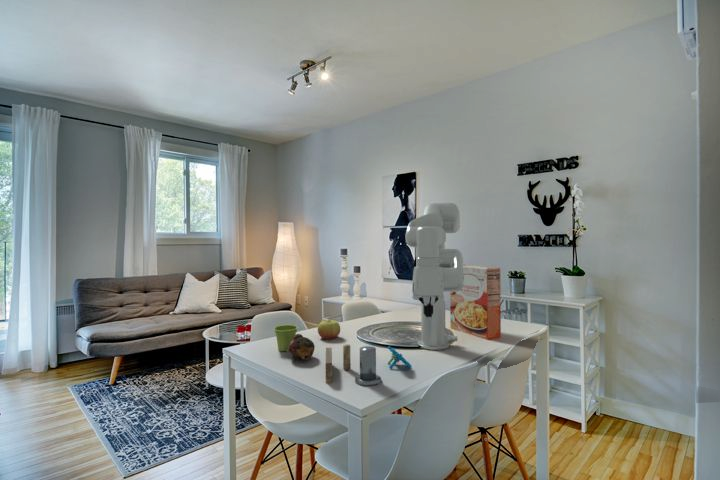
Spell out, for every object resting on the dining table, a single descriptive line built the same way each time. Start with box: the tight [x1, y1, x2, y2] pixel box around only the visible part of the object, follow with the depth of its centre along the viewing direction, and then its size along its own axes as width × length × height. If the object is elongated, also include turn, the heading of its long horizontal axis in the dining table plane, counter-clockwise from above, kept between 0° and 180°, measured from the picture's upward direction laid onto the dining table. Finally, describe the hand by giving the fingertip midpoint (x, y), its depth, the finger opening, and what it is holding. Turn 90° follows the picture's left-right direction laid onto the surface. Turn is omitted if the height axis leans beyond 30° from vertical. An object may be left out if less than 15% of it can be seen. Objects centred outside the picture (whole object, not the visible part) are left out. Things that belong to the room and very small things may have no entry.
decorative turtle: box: [288, 333, 316, 362], centre depth 140 cm, size 10×15×8 cm, turn 27°
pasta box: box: [449, 264, 502, 341], centre depth 174 cm, size 23×8×30 cm, turn 28°
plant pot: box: [273, 324, 299, 352], centre depth 151 cm, size 9×9×9 cm
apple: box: [317, 319, 341, 340], centre depth 167 cm, size 10×10×8 cm
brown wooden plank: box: [325, 347, 333, 384], centre depth 125 cm, size 2×16×6 cm, turn 5°
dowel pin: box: [342, 343, 352, 371], centre depth 128 cm, size 2×2×8 cm
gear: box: [387, 345, 412, 370], centre depth 129 cm, size 11×6×10 cm
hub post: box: [354, 345, 382, 387], centre depth 118 cm, size 8×8×10 cm
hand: (428, 316), depth 130 cm, fingers closed
